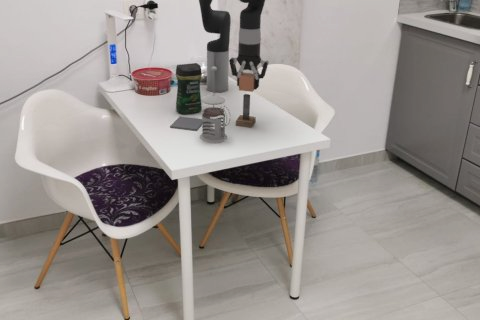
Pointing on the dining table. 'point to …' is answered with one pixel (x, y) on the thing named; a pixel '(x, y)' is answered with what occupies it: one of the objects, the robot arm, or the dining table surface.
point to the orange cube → (246, 82)
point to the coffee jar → (188, 88)
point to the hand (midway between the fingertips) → (248, 87)
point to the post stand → (246, 114)
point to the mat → (187, 123)
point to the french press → (219, 132)
